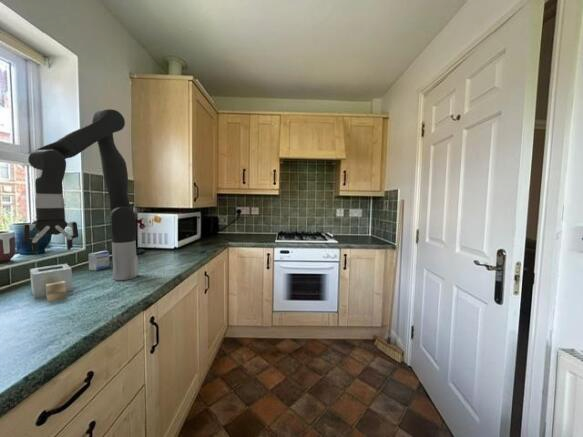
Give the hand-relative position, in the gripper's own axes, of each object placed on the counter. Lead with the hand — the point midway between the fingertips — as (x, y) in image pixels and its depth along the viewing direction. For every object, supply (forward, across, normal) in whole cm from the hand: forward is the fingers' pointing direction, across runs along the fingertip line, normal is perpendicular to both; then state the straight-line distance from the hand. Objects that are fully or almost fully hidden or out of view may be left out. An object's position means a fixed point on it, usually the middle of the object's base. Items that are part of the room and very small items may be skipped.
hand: (53, 251), depth 93 cm
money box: (+18, 0, -12) cm, 21 cm away
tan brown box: (+18, 0, 0) cm, 18 cm away
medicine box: (+18, -21, -37) cm, 46 cm away
